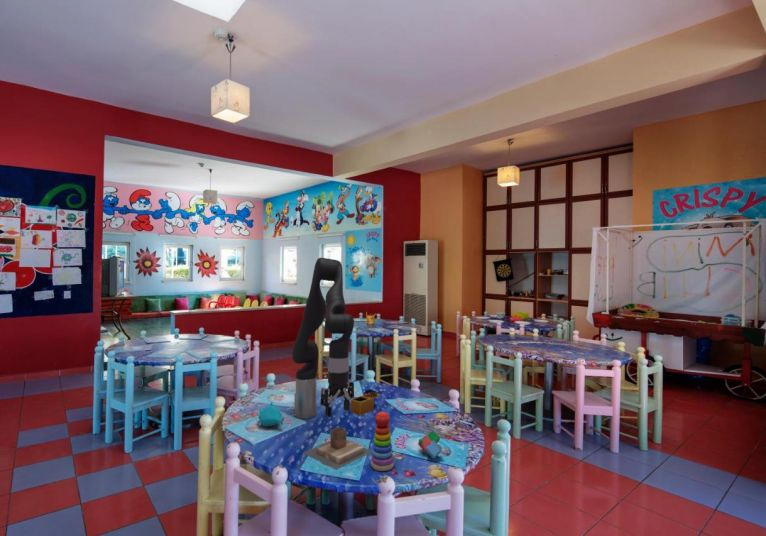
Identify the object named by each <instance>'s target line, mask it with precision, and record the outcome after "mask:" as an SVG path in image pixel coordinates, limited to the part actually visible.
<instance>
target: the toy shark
mask: <svg viewBox="0 0 766 536" xmlns="http://www.w3.org/2000/svg"><path fill="white" fill-rule="evenodd" d="M257 416H258V420H259V423H258V426H261V424H262V425H263V426H266V427H273V426H275V425H277V424H279V425H281V426H282V427H284V420H285V417H283V414H282V412H281V411H280V410H279V409H278V408H277V407H276V406H275V405H274V404H273V401H270V404H268V405H266V407H265V406H264V407H260V408H259V410H258V412H257ZM272 425H273V426H272Z"/></svg>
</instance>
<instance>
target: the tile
mask: <svg viewBox="0 0 766 536" xmlns="http://www.w3.org/2000/svg"><path fill="white" fill-rule="evenodd" d="M329 442H330V441H329ZM326 443H327V442H326ZM324 444H325V443H324ZM322 445H323V444H322ZM319 446H320V445H319ZM317 447H318V446H317ZM364 448H365V447H364V446H362V445H360V444H357V443H355V442H352V441H350V440H348V439H346V447H344V448H341V449H339V450H337V449H335V448H332V447H331V442H330V443H327V444H325V445H323V446H320V447H318V448H317V454H319V455H321V456H323V457H325V458H327V459H329V460H331V461H333V462H335V463H337V464H341V463H343V462H346V461H348V460H350V459H352V458H354V457H356V456H358V455H360V454H362V453H364Z"/></svg>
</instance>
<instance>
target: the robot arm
mask: <svg viewBox="0 0 766 536" xmlns="http://www.w3.org/2000/svg"><path fill="white" fill-rule="evenodd" d="M313 268H314V269H313V274H312V279H311V284H310V288H309V293H308V297H307V301H306V303H305V306H304V307H305V308H304V310H303V315H302V319H301V320H302V321H301V323H300V327H299V331H298V333H297V336H296V339H295V342H294V344H293V347H292V353H291V357H292V360H293V362H294V363H295V364H300V365H301V364H304V365H303V366H302V367H301V368H299V369H298V370H296V372H295V393H294V403H293V404H294V406H293V407H294V411H293V412H294V415H295V414H296V415H295V417H296V418H297V419H311V418H314V417H315V416H316V415H317V375H318V374H317V373H318V370H319V357H320V356H319V353H320V352H319V346H318V344H317V342H316V341H312V340H311V341H310V339H311V337H312V336H313V335H314V334H315V333H316V331H318V330H319V328H320V327H321V326H322V324H324V330H325V331H326V332H327V333H328V334H331V335H335V334H336V335H338V334H339V335H340V334H341V336H340V337H339V338H337V339H333V340H330V341H329V345H328V363H327V383H328V387H327V388H326V387H325V388H321V390H320V403H319V404H320V406H322V407H325V409H324V410H325V412H324V414H325V416H326V417H327V418H332V415H333V414H332V410H333V408H332V405H333V403H334V402H335V401H336V400H337V399H339V398H343V411H345V412H348V411H349V410H350V409H351V399H353V398H355V382H354V381H351V380H350V379H349V378H350V370H349V369H350V360H349V359H350V358H349V349H350V348H349V347H350V341H351V338H352V337H351V336H352V333H353V330H354V327H355V320H354V319H355V318H354V317H353V315H351V314H349V313H346V310H347V307H346V301H345V297H344V287H343V286H344V281H343V280H344V279H343V275H344V274H343V265H342V262H341V261H339V260H338V259H334V258H333V259H332V258H327V257H319V258H317V260H316V261H315V264H314V267H313ZM322 281H325V282H326V281H328V282H333V284H332V286H331V287H330V288H329V289H328V290H327V292H326V294H325V297H324V296H323V293H322V290H321V282H322ZM324 320H325V321H324Z"/></svg>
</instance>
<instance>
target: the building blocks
mask: <svg viewBox="0 0 766 536" xmlns="http://www.w3.org/2000/svg"><path fill="white" fill-rule="evenodd" d="M440 440H441V438H440V436H439V435H438V434H437V433H436V432H435V430H433V429H432V430H431V431H430V432H429V433H428V434H424V436H423V437H422V438H419V439H418V442H417V445H418V447H420V449H421V450H422V451H423V452H424V453H426V454H428V455H429V456H430V457H431V458H432V460H434V459H436V457H438V455H439V454H440V453H441V452H442V448H441V446H440V445H439V444H438V443H439V442H440Z"/></svg>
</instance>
